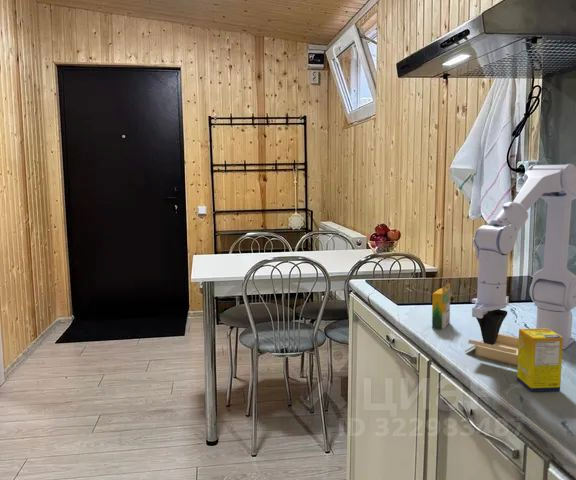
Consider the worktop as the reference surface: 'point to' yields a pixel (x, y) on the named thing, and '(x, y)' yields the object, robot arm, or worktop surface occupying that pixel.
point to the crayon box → (441, 308)
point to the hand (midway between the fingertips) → (489, 343)
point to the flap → (492, 346)
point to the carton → (497, 354)
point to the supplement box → (539, 359)
